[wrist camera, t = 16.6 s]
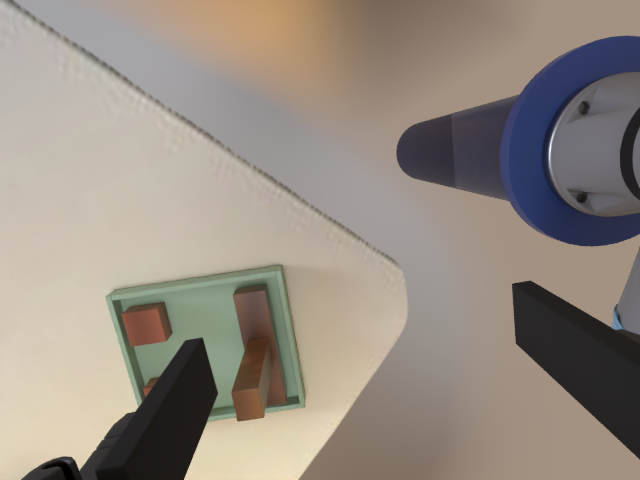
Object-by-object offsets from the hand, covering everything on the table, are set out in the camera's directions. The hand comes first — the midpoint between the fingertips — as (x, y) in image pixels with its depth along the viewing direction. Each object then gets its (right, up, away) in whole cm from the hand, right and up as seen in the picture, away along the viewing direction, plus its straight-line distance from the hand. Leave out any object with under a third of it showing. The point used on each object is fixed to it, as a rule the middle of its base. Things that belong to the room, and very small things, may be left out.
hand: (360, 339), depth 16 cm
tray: (-14, -8, +28) cm, 33 cm away
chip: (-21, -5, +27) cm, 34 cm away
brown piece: (-8, -8, +28) cm, 30 cm away
